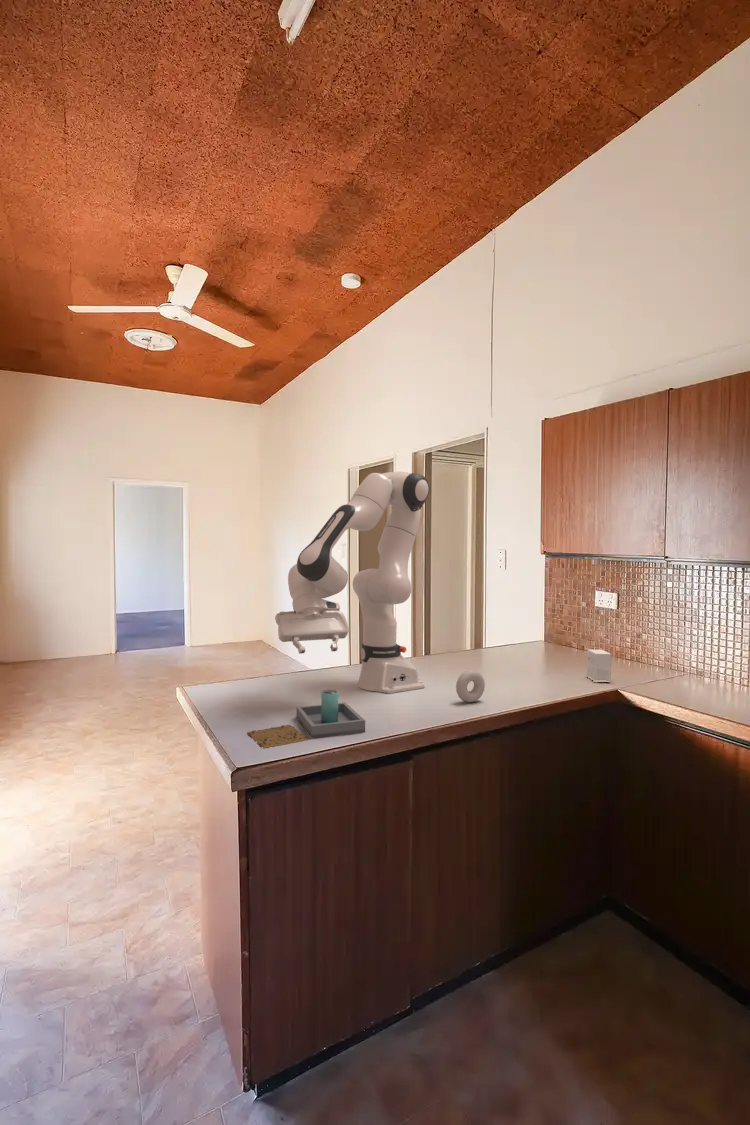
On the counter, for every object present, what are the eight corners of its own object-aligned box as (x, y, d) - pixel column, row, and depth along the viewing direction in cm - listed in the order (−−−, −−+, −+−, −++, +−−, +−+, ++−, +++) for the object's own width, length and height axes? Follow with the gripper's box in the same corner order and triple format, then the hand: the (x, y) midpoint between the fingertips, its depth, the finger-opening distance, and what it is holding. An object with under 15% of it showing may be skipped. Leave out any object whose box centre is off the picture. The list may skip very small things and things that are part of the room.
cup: (335, 718, 146) (335, 688, 145) (340, 723, 142) (340, 693, 141) (318, 719, 144) (319, 689, 144) (323, 725, 140) (324, 694, 140)
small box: (610, 683, 192) (611, 654, 191) (594, 683, 192) (595, 653, 191) (601, 677, 200) (602, 649, 199) (586, 677, 200) (587, 648, 199)
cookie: (263, 751, 125) (263, 747, 125) (245, 734, 136) (245, 730, 136) (310, 741, 132) (310, 738, 132) (290, 726, 142) (290, 723, 142)
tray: (345, 712, 153) (345, 702, 153) (365, 732, 138) (365, 720, 138) (296, 717, 148) (296, 706, 148) (311, 738, 133) (311, 726, 133)
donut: (479, 698, 169) (480, 667, 169) (486, 702, 166) (487, 669, 166) (453, 702, 165) (454, 670, 164) (459, 705, 162) (460, 672, 161)
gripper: (276, 605, 152) (284, 647, 144) (344, 603, 161) (355, 642, 153) (272, 618, 157) (279, 660, 149) (338, 615, 165) (349, 654, 157)
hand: (318, 651), depth 151 cm, fingers open, 8 cm apart
